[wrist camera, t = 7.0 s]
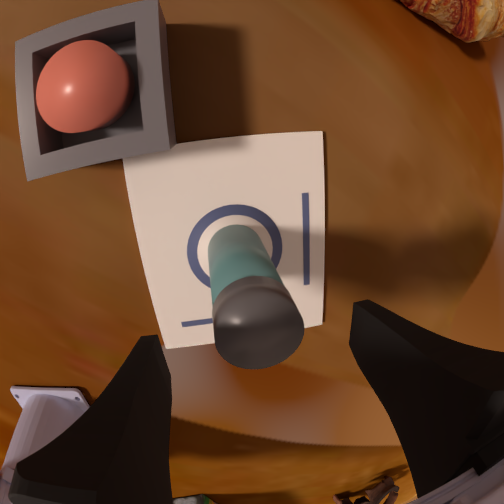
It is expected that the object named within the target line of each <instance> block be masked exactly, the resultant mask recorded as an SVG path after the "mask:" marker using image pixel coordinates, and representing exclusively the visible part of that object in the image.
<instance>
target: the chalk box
mask: <svg viewBox="0 0 504 504" xmlns="http://www.w3.org/2000/svg"><path fill="white" fill-rule="evenodd" d="M172 500H173V504H217V503H215V502H214V501H212V500H211V499H209V498H208V497H206V496H205V495H204V494H201V495H196V496H190V497H184V498H176V499H172Z"/></svg>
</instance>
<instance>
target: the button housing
mask: <svg viewBox="0 0 504 504" xmlns="http://www.w3.org/2000/svg"><path fill="white" fill-rule="evenodd" d="M81 40H94V41H98V42H101V43H104V44H105V45H107V46H108V47H110V48H111V49H112V50H114V51H115V52H116V53H117V54H118V55H120V56H121V57H122V58H123V59H125V60H126V62H127V63H128V64H129V65H130V67H131V69H132V71H133V75H134V80H135V88H134V94H133V98H132V101H131V103H130V105H129V107H128V108H127V110H126V111H125V113H124V114H123V115H122V116H121V117H120V118H119V119H118V120H117V121H116V122H114V123H113V124H111V125H110V126H108V127H105V128H103V129H99V130H93V131H85V132H77V133H65V132H61V131H58V130H56V129H54V128H52V127H51V126H49V125H48V124H47V123H46V122H45V121H44V119H43V118H42V116H41V115H40V112H39V110H38V106H37V101H36V89H37V83H38V80H39V77H40V74H41V72H42V70H43V68H44V66H45V65H46V63H47V62H48V61H49V59H50V58H51V57H52V56H53V55H54V54H55V53H56V52H57V51H59V50H60V49H62V48H63V47H65V46H67V45H68V44H71V43H73V42H77V41H81ZM15 80H16V99H17V112H18V122H19V131H20V139H21V147H22V153H23V160H24V166H25V171H26V177H27V181H30V180H34V179H37V178H41V177H44V176H48V175H52V174H56V173H59V172H63V171H67V170H71V169H75V168H80V167H84V166H88V165H93V164H97V163H102V162H106V161H111V160H116V159H121V158H126V157H132V156H137V155H142V154H148V153H154V152H160V151H166V150H170V149H172V148H173V147H174V146H175V145H176V144H177V142H176V134H175V125H174V115H173V105H172V95H171V84H170V72H169V60H168V46H167V30H166V22H165V18H164V15H163V12H162V9H161V6H160V3H159V0H143V1H138V2H134V3H129V4H124V5H120V6H116V7H112V8H108V9H104V10H101V11H97V12H94V13H90V14H87V15H84V16H80V17H77V18H74V19H71V20H68V21H65V22H62V23H60V24H57V25H54V26H52V27H49V28H46V29H44V30H41V31H39V32H36V33H34V34H32V35H29V36H27V37H25V38H22V39H20V40H18V41H16V42H15Z"/></svg>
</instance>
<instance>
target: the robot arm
mask: <svg viewBox="0 0 504 504" xmlns="http://www.w3.org/2000/svg"><path fill="white" fill-rule="evenodd" d="M349 346H350V348H351V350H352V353H353V355H354V357H355V359H356V362H357V364H358V366H359V367H360V369H361V371H362V372H363V374H364V376H365V377H366V379H367V380H368V382H369V384H370V385H371V387H372V388H373V390H374V392H375V393H376V395H377V396H378V398H379V400H380V401H381V403H382V404H383V406H384V408H385V409H386V411H387V413H388V415H389V417H390V419H391V422H392V424H393V426H394V428H395V430H396V433H397V435H398V438H399V440H400V443H401V445H402V448H403V450H404V453H405V456H406V459H407V462H408V465H409V468H410V471H411V474H412V478H413V481H414V485H415V489H416V493H417V497H418V499H416V500H414V501H412V502H410V503H408V504H504V352H498V351H492V350H487V349H482V348H478V347H474V346H470V345H466V344H463V343H460V342H457V341H454V340H451V339H448V338H446V337H443V336H440V335H438V334H436V333H433V332H431V331H429V330H427V329H425V328H422V327H420V326H418V325H416V324H414V323H412V322H410V321H408V320H406V319H404V318H403V317H401V316H399V315H397V314H395V313H393V312H391V311H390V310H388V309H386V308H384V307H382V306H380V305H378V304H376V303H374V302H372V301H370V300H363V301H359V302H354V304H353V314H352V323H351V331H350V340H349ZM10 391H11V393H12V394H13V396H14V397H15V399H16V400H17V401H18V403H19V404H20V406H21V407H22V408H23V411H22V413H21V416H20V418H19V421H18V423H17V426H16V429H15V431H14V434H13V437H12V440H11V442H10V445H9V448H8V451H7V454H6V457H5V460H4V464H3V467H2V470H1V471H0V504H173V500H172V491H171V483H170V471H169V435H170V420H171V406H172V392H171V391H172V390H171V375H170V372H169V369H168V366H167V363H166V360H165V357H164V354H163V351H162V347H161V344H160V341H159V338H158V335H149V336H141V337H140V339H139V340H138V342H137V343H136V345H135V346H134V348H133V349H132V351H131V352H130V354H129V355H128V357H127V359H126V360H125V362H124V363H123V365H122V366H121V367H120V369H119V370H118V372H117V373H116V375H115V376H114V378H113V379H112V380H111V382H110V383H109V384H108V386H107V387H106V388H105V390H104V391H103V392H102V394H101V395H100V396H99V397H98V398H97V400H96V401H95V402H94V403H93V404H92V405H91V406H89V404H88V403H87V401H86V400H85V398H84V396H83V395H82V393H81V391H80V390H78V389H76V388H40V387H19V386H12V387H11V389H10Z"/></svg>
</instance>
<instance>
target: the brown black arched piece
mask: <svg viewBox="0 0 504 504" xmlns="http://www.w3.org/2000/svg"><path fill="white" fill-rule="evenodd" d="M398 490H399V487H398V486H396V485H394V482H393V480H392V478H391V477H388V476H385V479H384V480H382V482H380V483H379V484H377V486H375V487H374V488H373V489H371V490H366V491H365V492H366V493H367V494H368V497H369V499H370V501H369V500H368V499H367V498H366V497H365V496H363V497H361V498H358V499H356V500H355V502H354V504H379V503H380V502H381V500H382V499H383V498H384V497H385V496H386V495H387V494H388V493H390V494H389V496H388V498H387V499H386V501H385V502H384V504H394V502H395V500H396V498H397V496H398V493H395V492H398ZM394 491H395V492H394ZM333 500H334V501H335V502H336V504H353V503H352V502H351V501H350V499H349V498H345V499H343V500H340V499H338V496H337V495H334V496H333Z"/></svg>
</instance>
